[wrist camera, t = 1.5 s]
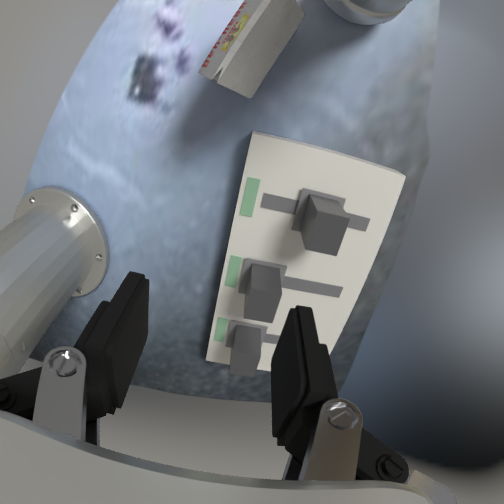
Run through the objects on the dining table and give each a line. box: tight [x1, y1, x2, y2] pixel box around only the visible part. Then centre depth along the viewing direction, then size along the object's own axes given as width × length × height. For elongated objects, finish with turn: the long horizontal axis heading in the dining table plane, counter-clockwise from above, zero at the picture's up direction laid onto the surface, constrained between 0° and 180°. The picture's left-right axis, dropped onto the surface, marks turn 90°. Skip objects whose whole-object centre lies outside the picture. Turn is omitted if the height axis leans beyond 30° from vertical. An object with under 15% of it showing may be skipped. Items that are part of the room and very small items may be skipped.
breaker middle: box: [238, 258, 287, 323], centre depth 27 cm, size 4×4×4 cm
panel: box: [206, 131, 406, 371], centre depth 30 cm, size 24×13×2 cm, turn 168°
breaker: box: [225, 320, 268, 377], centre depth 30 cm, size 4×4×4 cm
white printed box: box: [198, 0, 305, 99], centre depth 17 cm, size 4×7×10 cm, turn 150°
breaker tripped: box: [291, 188, 350, 256], centre depth 24 cm, size 4×4×4 cm
